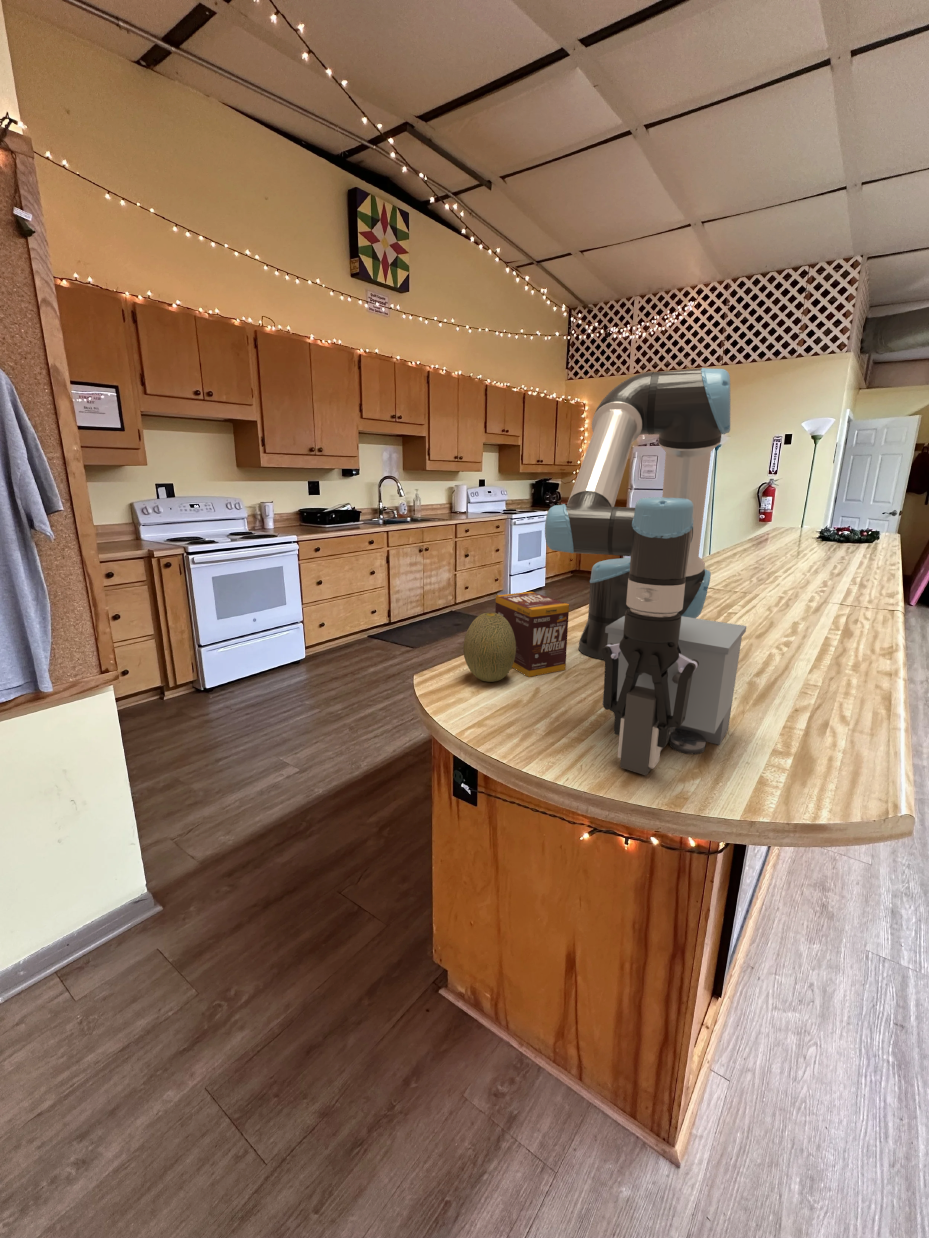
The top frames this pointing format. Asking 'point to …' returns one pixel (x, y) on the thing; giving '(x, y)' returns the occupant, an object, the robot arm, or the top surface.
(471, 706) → the top surface
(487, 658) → the fruit
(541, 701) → the top surface
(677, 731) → the steel puck
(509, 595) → the supplement box
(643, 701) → the scraper
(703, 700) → the cabinet
